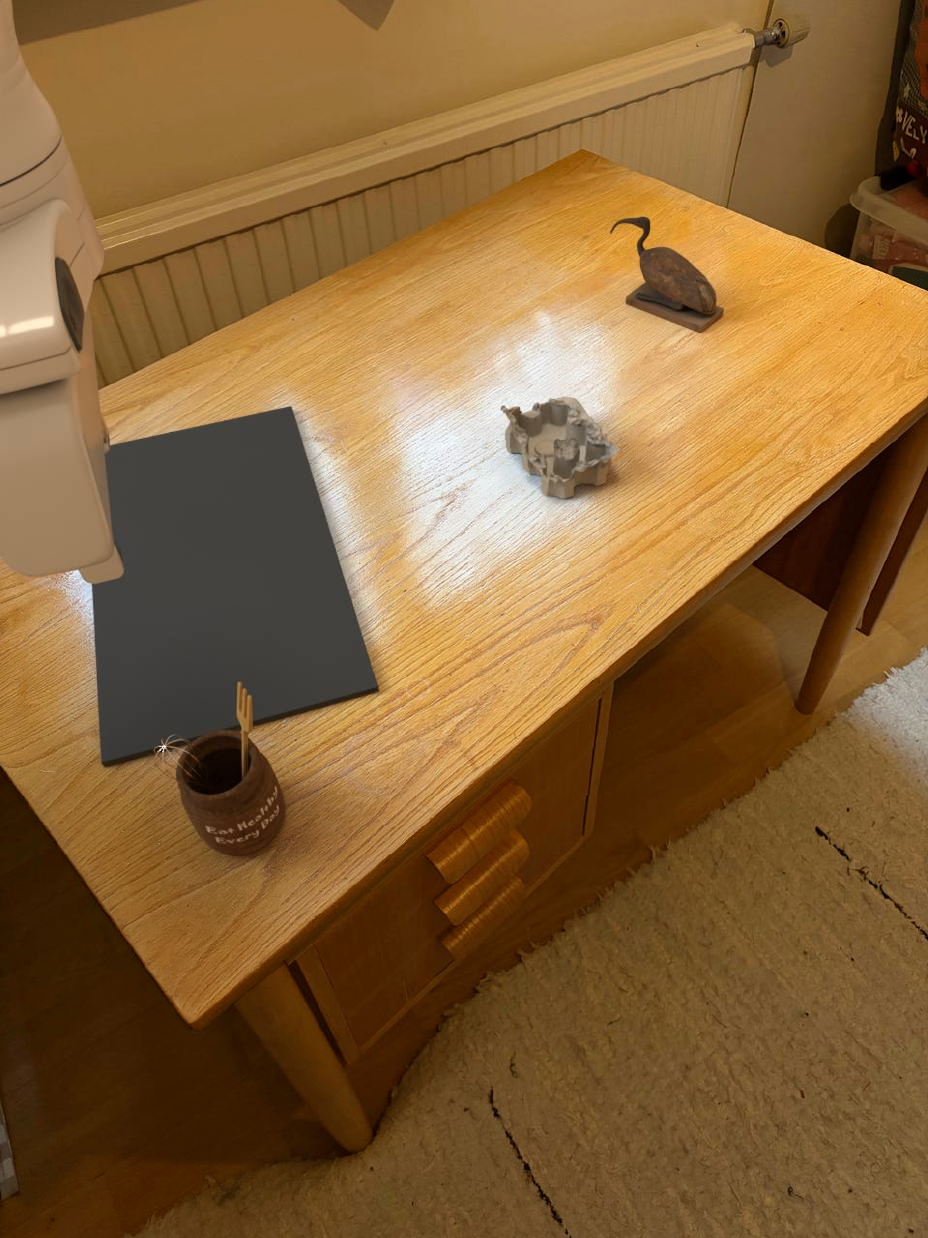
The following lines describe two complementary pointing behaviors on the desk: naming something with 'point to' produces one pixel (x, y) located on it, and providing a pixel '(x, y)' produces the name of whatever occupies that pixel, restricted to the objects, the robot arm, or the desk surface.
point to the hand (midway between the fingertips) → (100, 505)
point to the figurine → (672, 285)
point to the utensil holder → (229, 787)
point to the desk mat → (219, 588)
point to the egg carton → (560, 445)
